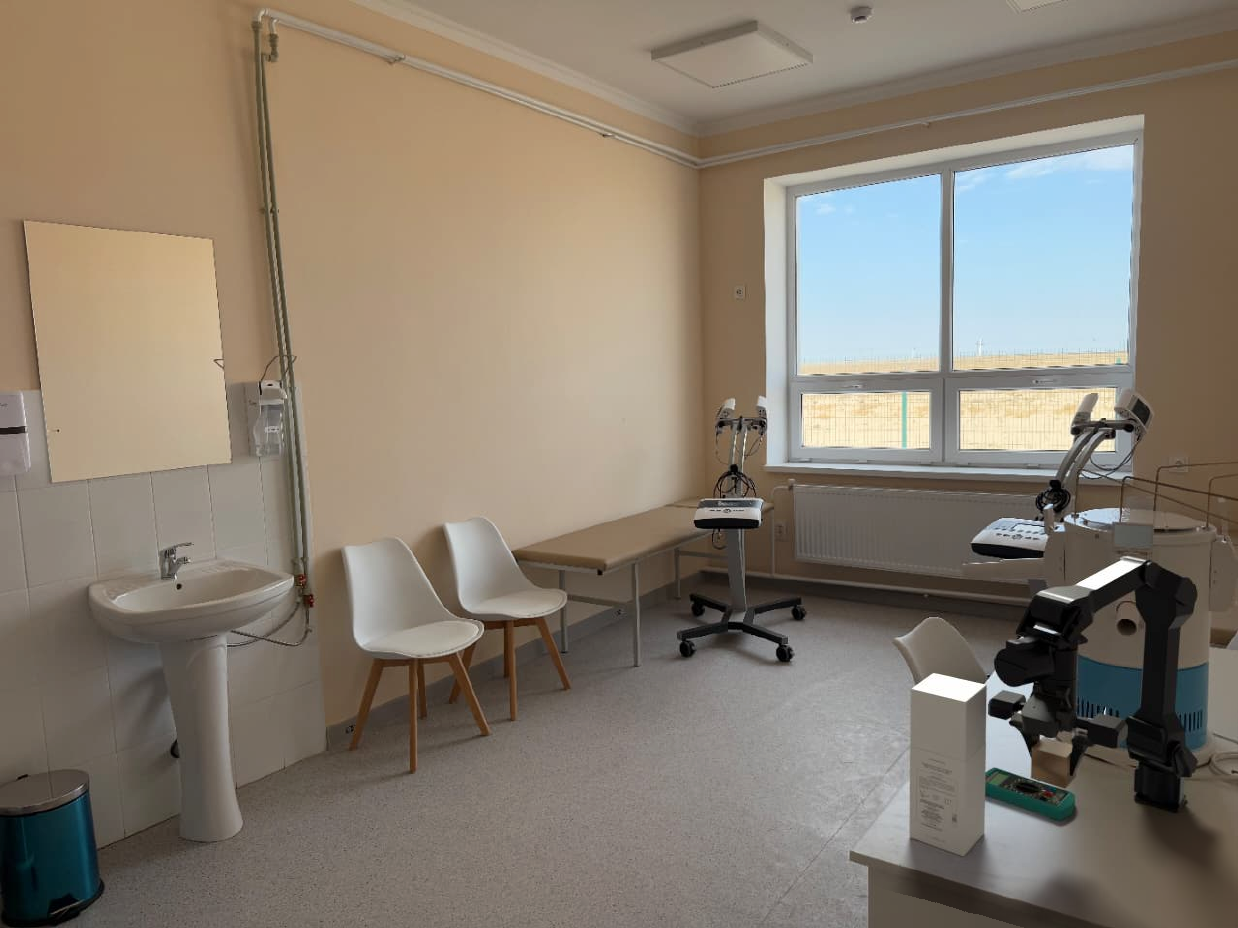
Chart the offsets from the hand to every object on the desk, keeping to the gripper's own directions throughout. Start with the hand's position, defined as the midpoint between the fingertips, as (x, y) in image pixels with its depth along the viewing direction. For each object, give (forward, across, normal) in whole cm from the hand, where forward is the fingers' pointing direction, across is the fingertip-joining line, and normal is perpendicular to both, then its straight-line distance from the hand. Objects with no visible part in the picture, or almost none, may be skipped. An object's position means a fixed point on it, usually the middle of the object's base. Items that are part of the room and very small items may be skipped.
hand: (1053, 769), depth 134 cm
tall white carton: (+12, -13, -9) cm, 20 cm away
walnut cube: (+1, 0, 0) cm, 1 cm away
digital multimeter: (+12, -8, +10) cm, 18 cm away
